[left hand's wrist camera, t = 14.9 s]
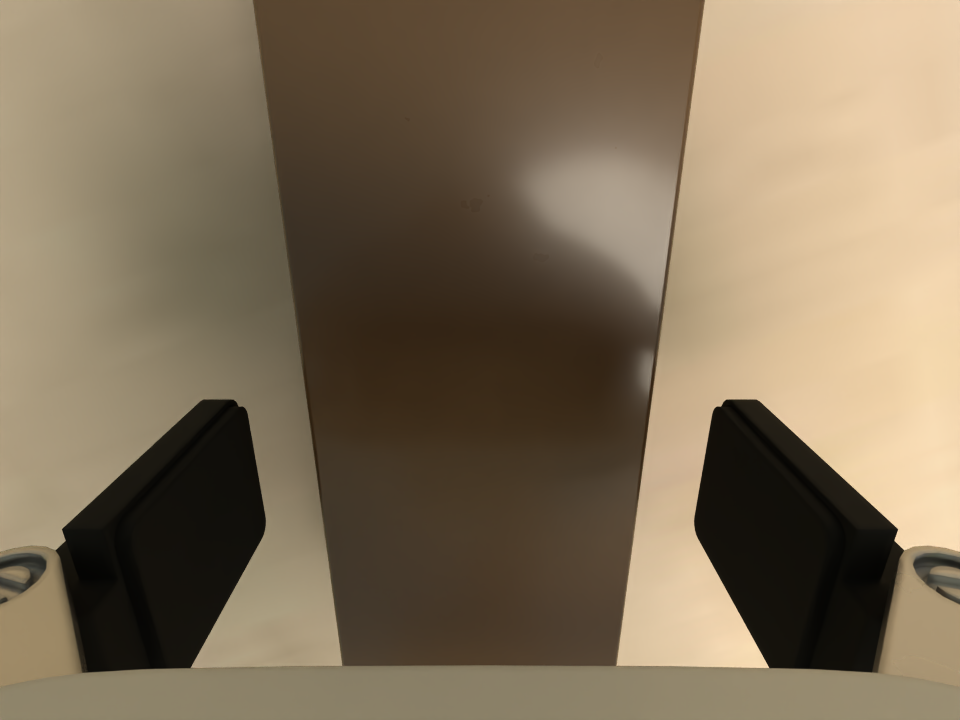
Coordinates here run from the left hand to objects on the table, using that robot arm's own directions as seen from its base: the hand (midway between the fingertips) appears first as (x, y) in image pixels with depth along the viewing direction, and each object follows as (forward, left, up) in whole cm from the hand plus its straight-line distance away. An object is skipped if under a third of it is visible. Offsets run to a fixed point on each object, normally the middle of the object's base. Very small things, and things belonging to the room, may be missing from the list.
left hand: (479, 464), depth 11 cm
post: (+19, 0, -5) cm, 20 cm away
